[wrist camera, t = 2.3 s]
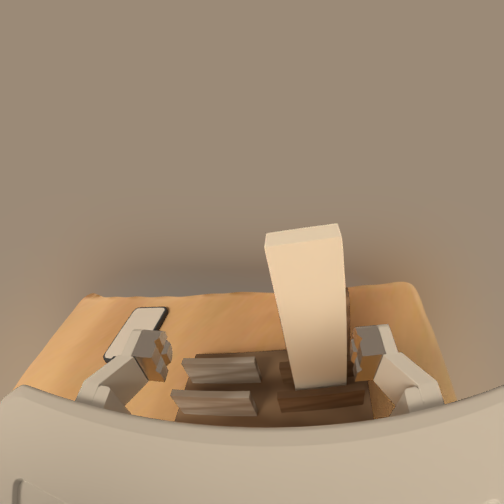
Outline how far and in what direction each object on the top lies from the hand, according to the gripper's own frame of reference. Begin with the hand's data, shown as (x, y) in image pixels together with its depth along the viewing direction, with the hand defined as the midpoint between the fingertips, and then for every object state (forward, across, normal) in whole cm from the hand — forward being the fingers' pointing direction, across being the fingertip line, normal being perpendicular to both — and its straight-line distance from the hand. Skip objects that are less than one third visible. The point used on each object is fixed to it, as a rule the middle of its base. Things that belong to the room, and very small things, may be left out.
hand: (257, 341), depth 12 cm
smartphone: (+26, -27, -31) cm, 49 cm away
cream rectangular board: (+11, +6, -24) cm, 27 cm away
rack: (+12, -1, -26) cm, 29 cm away
